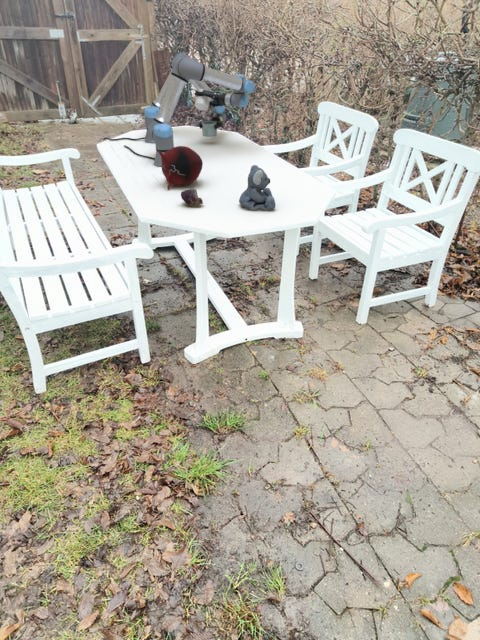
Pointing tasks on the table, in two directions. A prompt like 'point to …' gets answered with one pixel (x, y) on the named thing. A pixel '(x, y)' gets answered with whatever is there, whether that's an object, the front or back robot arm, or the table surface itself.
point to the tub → (209, 129)
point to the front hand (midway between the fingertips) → (198, 97)
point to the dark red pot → (181, 165)
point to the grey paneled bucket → (202, 101)
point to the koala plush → (257, 191)
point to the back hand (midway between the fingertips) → (207, 127)
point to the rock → (191, 197)
